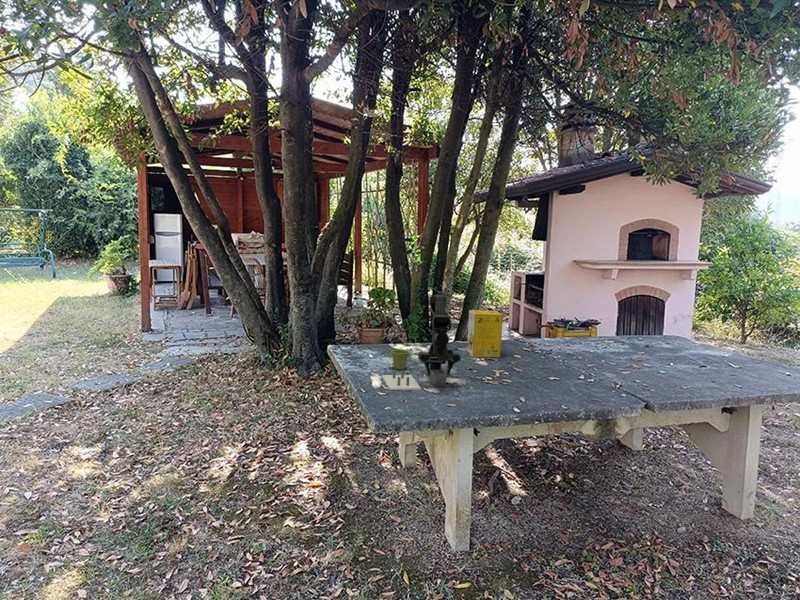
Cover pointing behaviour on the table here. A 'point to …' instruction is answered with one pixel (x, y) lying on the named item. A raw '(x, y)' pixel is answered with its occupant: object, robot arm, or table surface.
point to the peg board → (400, 382)
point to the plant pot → (400, 358)
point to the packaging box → (484, 333)
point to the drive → (438, 378)
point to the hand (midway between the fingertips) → (438, 375)
